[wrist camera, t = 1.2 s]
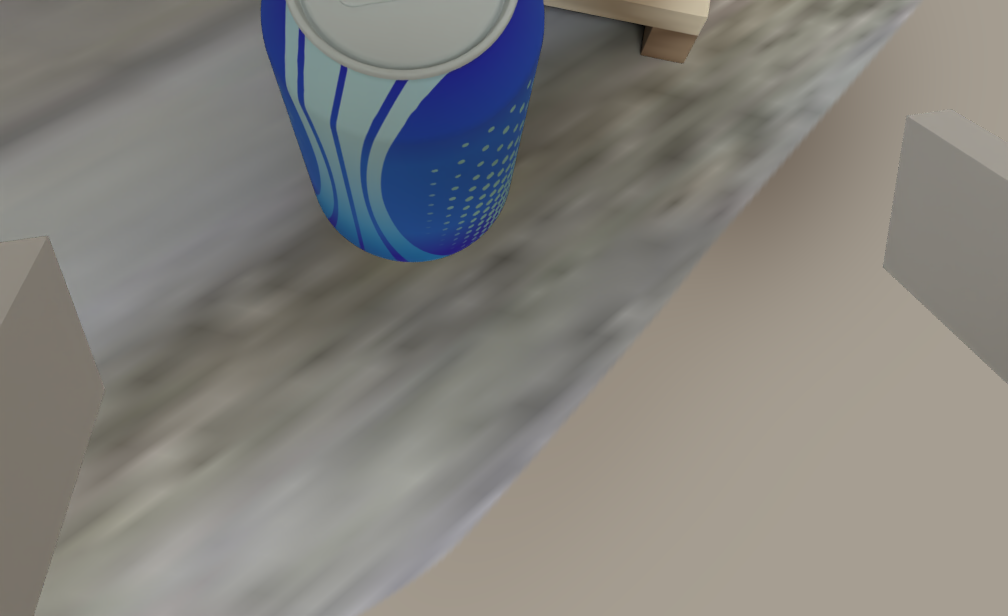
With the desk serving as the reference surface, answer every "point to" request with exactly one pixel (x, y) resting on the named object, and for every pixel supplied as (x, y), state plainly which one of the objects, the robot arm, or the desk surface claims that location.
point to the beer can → (407, 112)
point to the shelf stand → (651, 21)
